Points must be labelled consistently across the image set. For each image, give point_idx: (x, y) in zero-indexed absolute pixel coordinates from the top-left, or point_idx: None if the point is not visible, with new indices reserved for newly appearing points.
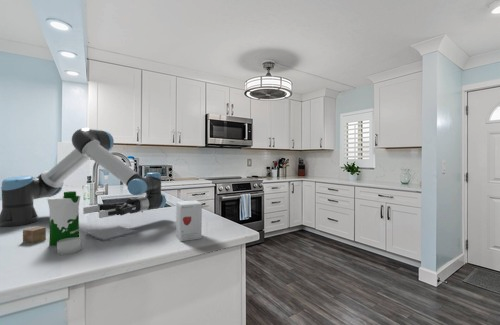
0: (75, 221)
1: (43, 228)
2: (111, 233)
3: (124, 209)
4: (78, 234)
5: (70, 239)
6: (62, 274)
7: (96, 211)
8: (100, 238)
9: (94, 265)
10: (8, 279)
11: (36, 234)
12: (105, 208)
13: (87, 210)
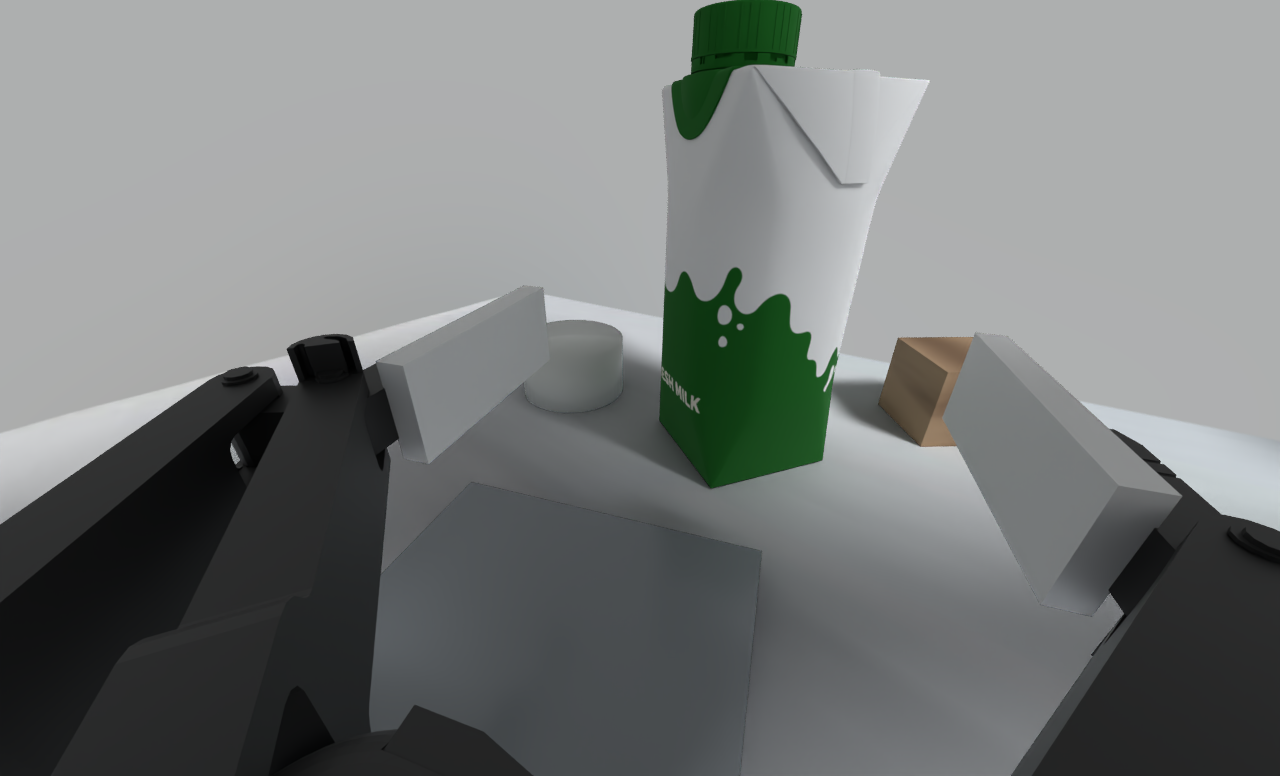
0: (669, 310)
1: (937, 369)
2: (498, 613)
3: (171, 417)
4: (694, 439)
5: (576, 342)
6: (439, 319)
7: (1011, 541)
8: (518, 494)
9: (362, 348)
10: (563, 300)
11: (902, 374)
12: (1077, 687)
13: (972, 402)
